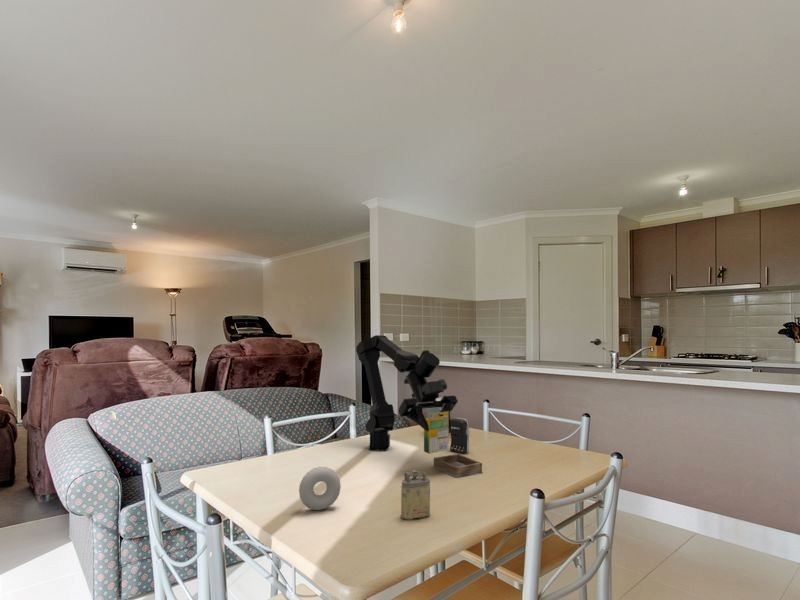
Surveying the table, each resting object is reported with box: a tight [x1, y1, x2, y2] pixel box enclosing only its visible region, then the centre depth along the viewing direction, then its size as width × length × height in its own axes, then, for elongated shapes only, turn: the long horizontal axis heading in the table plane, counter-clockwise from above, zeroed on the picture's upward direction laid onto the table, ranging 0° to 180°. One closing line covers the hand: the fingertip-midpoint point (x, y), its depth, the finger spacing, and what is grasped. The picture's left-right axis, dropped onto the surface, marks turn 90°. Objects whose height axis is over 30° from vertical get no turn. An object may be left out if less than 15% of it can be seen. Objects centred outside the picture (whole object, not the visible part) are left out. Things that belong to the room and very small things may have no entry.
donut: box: [298, 466, 342, 511], centre depth 110 cm, size 10×4×10 cm, turn 113°
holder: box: [433, 453, 483, 479], centre depth 141 cm, size 10×12×3 cm
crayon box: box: [423, 411, 450, 454], centre depth 138 cm, size 7×3×12 cm, turn 121°
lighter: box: [400, 469, 431, 520], centre depth 107 cm, size 7×4×10 cm, turn 112°
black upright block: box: [449, 417, 470, 454], centre depth 161 cm, size 7×4×11 cm, turn 47°
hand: (439, 429), depth 137 cm, fingers closed on crayon box, 7 cm apart
